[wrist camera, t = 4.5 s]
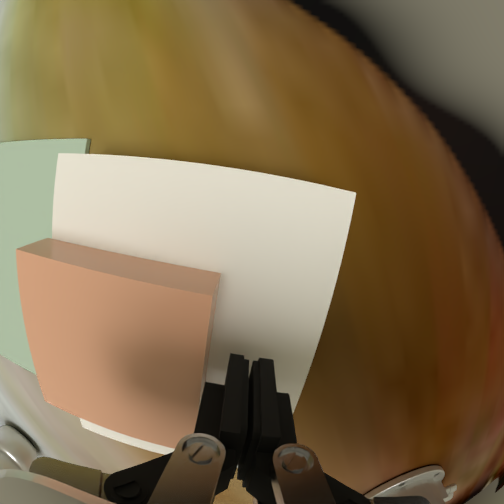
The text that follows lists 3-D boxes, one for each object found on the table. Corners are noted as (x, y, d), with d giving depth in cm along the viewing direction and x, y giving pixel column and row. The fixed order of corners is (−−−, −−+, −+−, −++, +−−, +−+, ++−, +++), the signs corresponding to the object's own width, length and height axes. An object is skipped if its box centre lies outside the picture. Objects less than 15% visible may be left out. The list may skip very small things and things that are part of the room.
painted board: (328, 189, 13) (356, 192, 10) (266, 426, 17) (268, 470, 13) (101, 157, 13) (58, 153, 9) (104, 392, 17) (82, 427, 13)
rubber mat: (90, 139, 13) (87, 138, 12) (95, 397, 17) (93, 400, 17) (-18, 145, 12) (-21, 145, 12) (-3, 349, 17) (-6, 350, 16)
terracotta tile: (221, 272, 10) (212, 296, 8) (200, 420, 12) (194, 452, 10) (47, 237, 10) (15, 248, 8) (64, 378, 12) (45, 401, 10)
